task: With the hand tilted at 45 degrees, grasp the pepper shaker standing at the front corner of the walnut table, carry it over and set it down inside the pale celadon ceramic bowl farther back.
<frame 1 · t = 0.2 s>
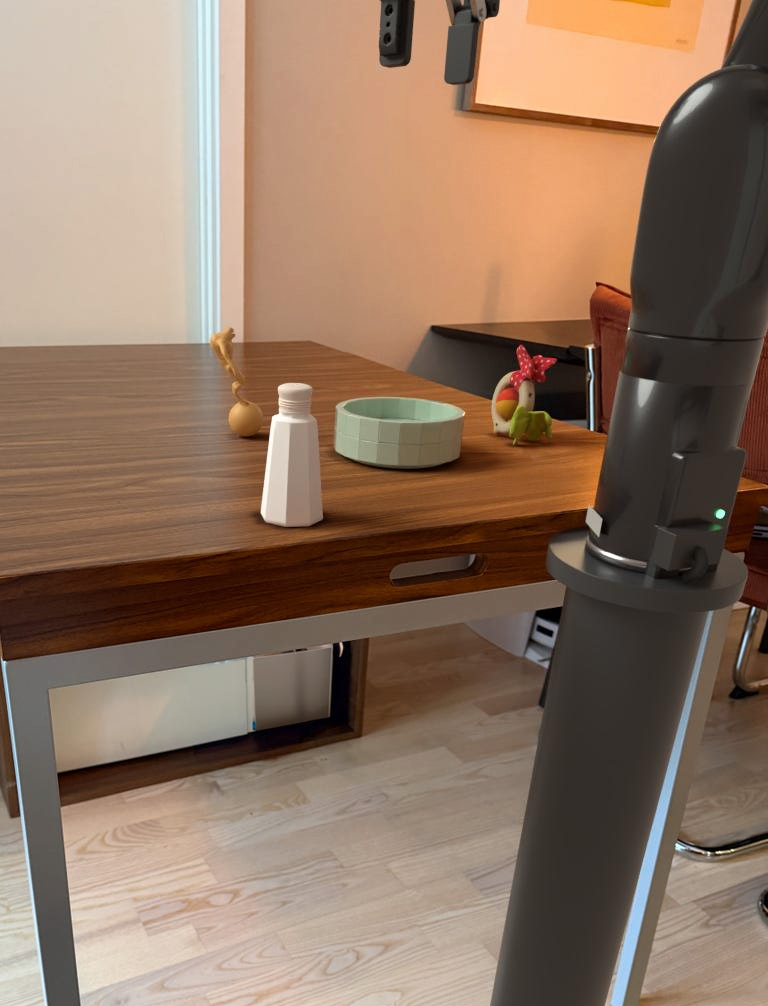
hand: (428, 75, 63), 33 cm above the table, tool pointing down, fingers open, 8 cm apart
bird rattle: (511, 441, 103), on the table
pepper shaker: (291, 519, 74), on the table
bowl: (396, 455, 94), on the table
figurine: (237, 438, 100), on the table
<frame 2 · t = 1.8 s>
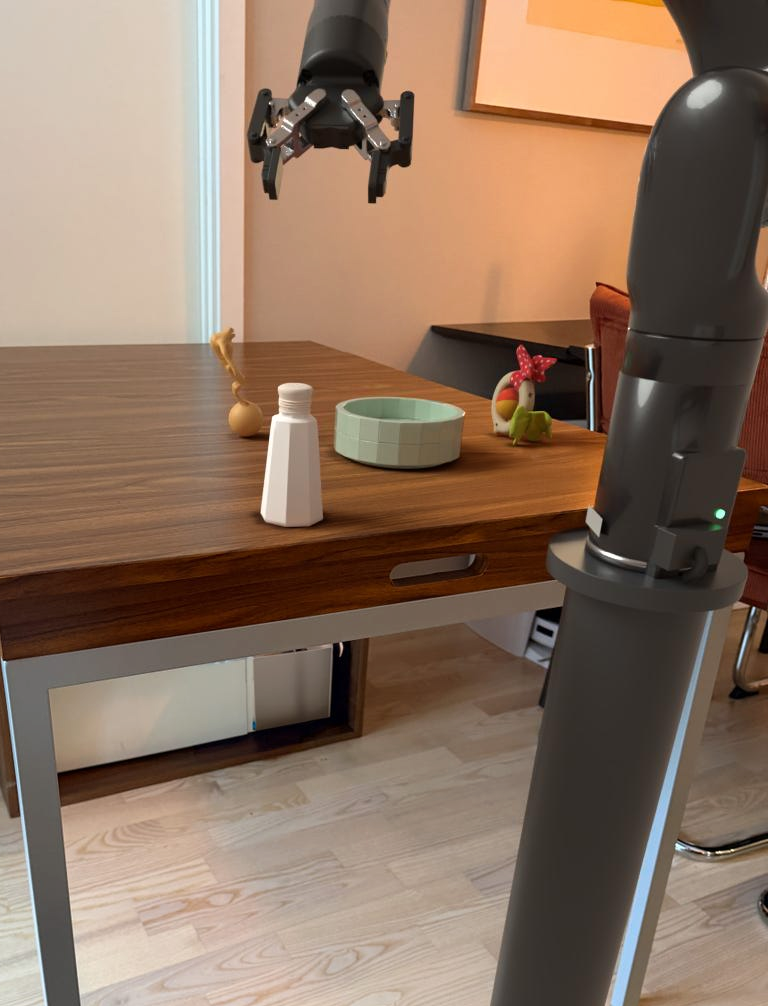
hand: (322, 194, 73), 25 cm above the table, tool tilted 45°, fingers open, 8 cm apart
nothing on the table moved.
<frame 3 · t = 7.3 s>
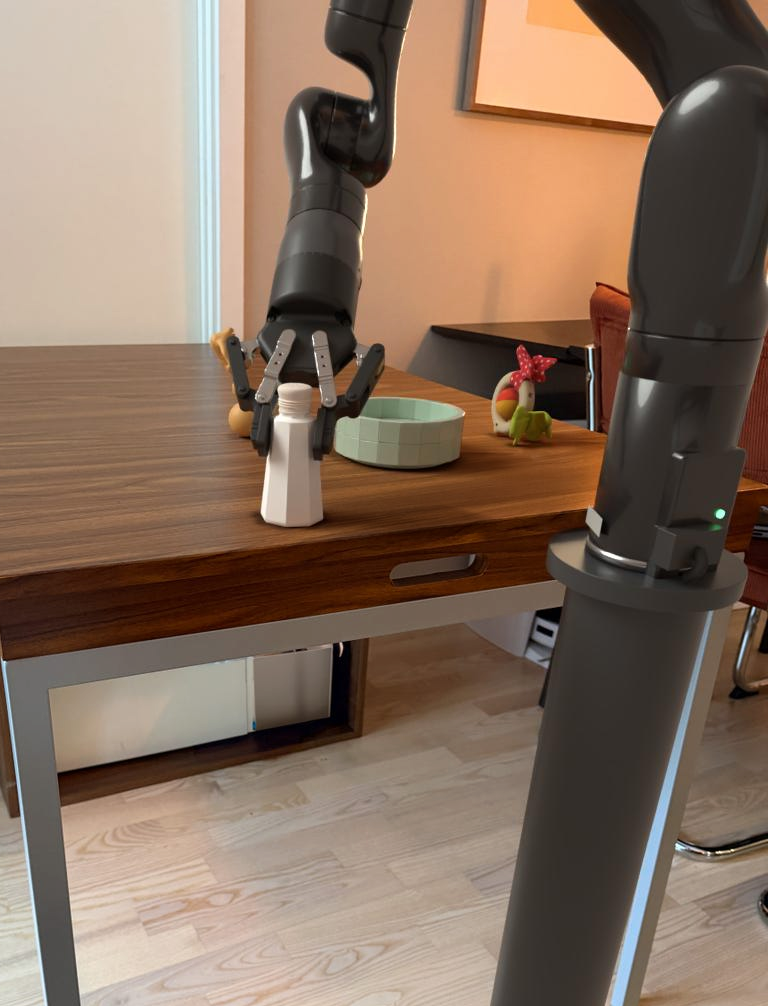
hand: (289, 452, 69), 6 cm above the table, tool tilted 45°, fingers closed on pepper shaker, 4 cm apart
pepper shaker: (291, 519, 74), on the table, touching gripper
everything else where it was.
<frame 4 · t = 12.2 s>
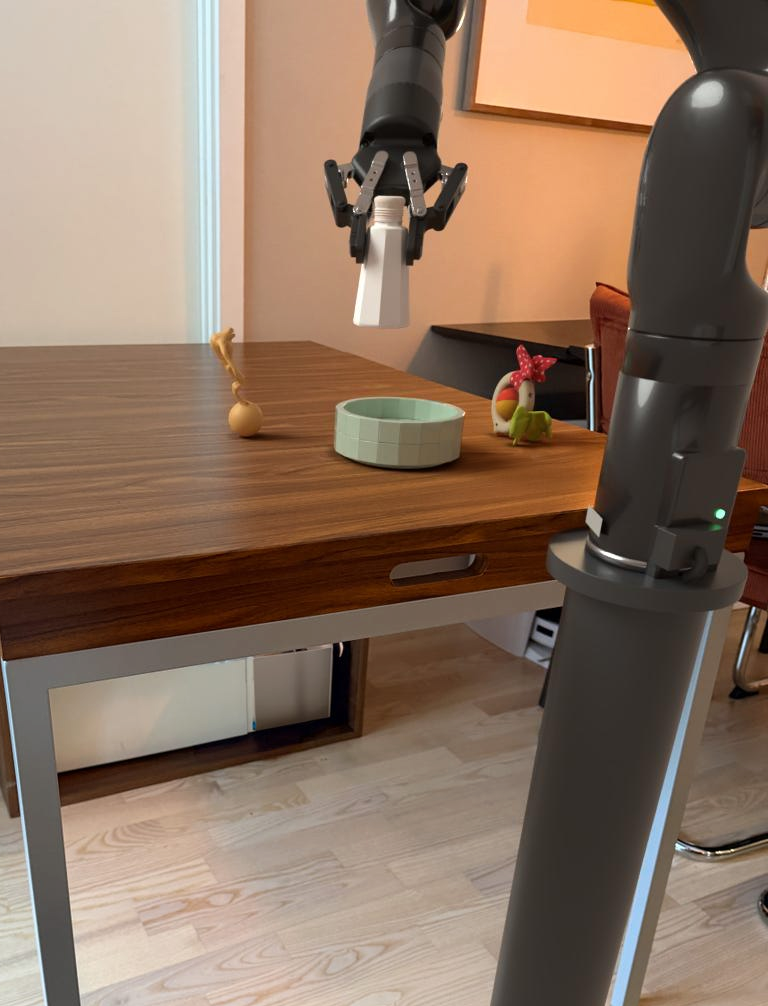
hand: (384, 257, 78), 20 cm above the table, tool tilted 45°, fingers closed on pepper shaker, 4 cm apart
pepper shaker: (380, 327, 83), point 14 cm above the table, touching gripper
everything else where it was.
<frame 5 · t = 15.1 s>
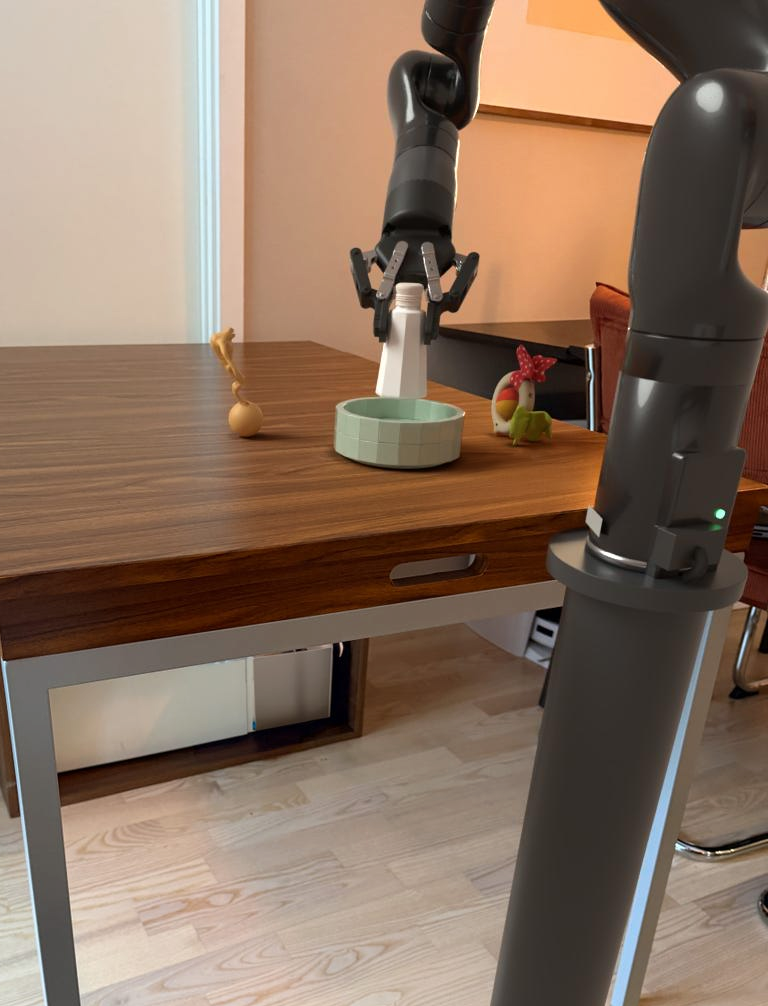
hand: (405, 338, 87), 12 cm above the table, tool tilted 45°, fingers closed on pepper shaker, 4 cm apart
pepper shaker: (400, 397, 92), point 6 cm above the table, touching gripper
everything else where it was.
when the fingers open (7 cm above the table, at t = 17.1 s): pepper shaker stays where it is, resting on bowl.
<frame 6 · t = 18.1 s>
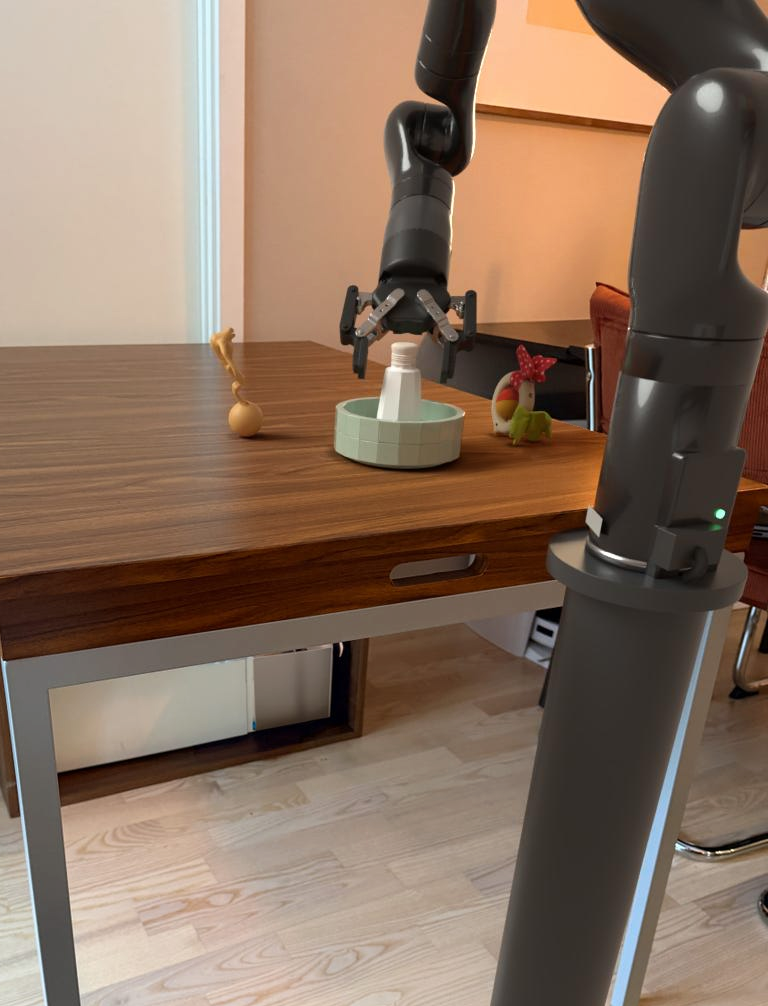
hand: (402, 376, 89), 9 cm above the table, tool tilted 45°, fingers open, 8 cm apart
pepper shaker: (396, 451, 94), resting on bowl
everything else where it was.
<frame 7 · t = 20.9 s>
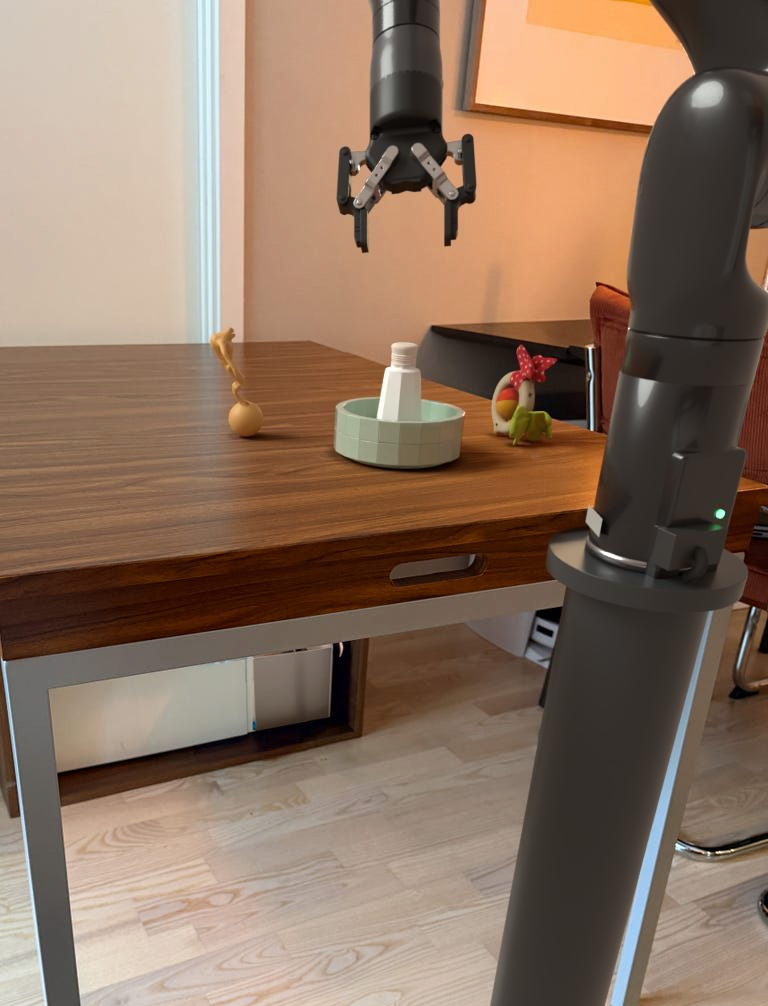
hand: (406, 246, 89), 21 cm above the table, tool tilted 25°, fingers open, 8 cm apart
nothing on the table moved.
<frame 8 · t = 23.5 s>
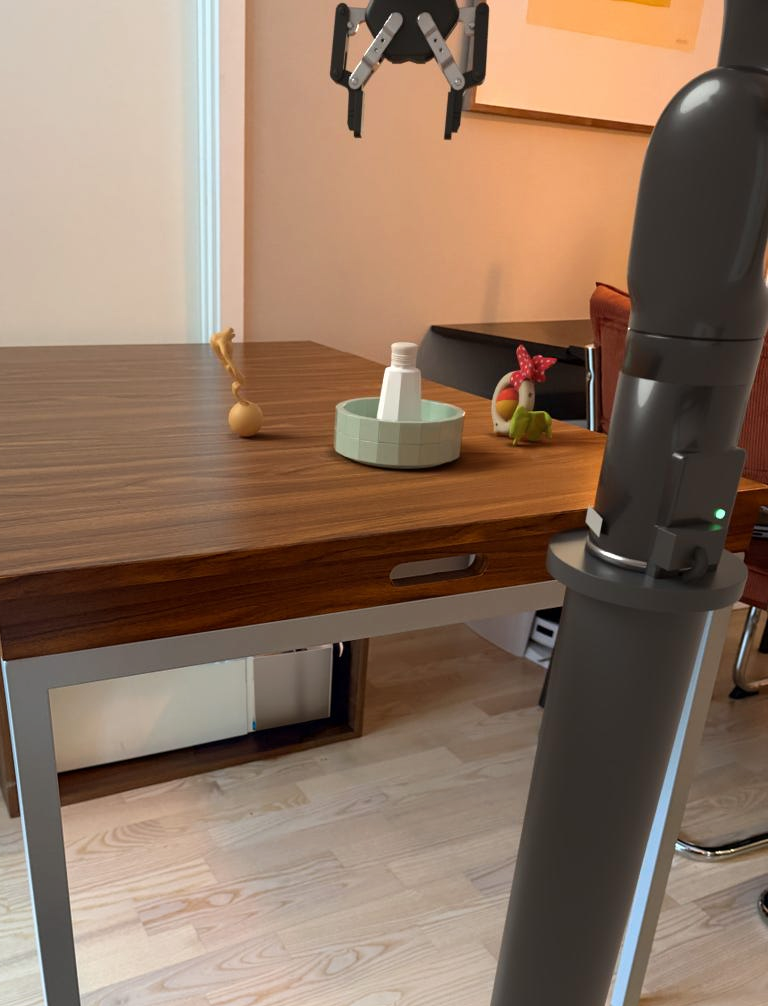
hand: (402, 138, 82), 30 cm above the table, tool pointing down, fingers open, 8 cm apart
nothing on the table moved.
at the end: pepper shaker inside the target area in the bowl (0.2 cm from its centre), point 0.4 cm above the bowl's base; the gripper is holding nothing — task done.
